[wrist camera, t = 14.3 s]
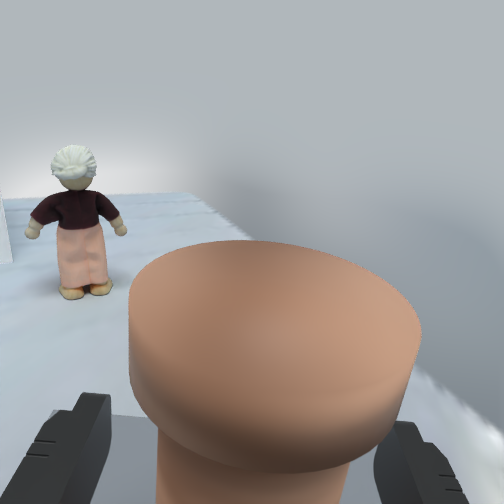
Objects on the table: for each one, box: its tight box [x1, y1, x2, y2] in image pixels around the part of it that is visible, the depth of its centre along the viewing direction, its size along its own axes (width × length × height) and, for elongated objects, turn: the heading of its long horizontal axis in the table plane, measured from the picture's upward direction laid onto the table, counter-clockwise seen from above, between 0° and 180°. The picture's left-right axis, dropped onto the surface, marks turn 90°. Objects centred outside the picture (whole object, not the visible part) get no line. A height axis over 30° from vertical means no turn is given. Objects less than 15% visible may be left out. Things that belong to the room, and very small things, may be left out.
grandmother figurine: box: [25, 145, 127, 300], centre depth 36 cm, size 8×4×13 cm, turn 128°
